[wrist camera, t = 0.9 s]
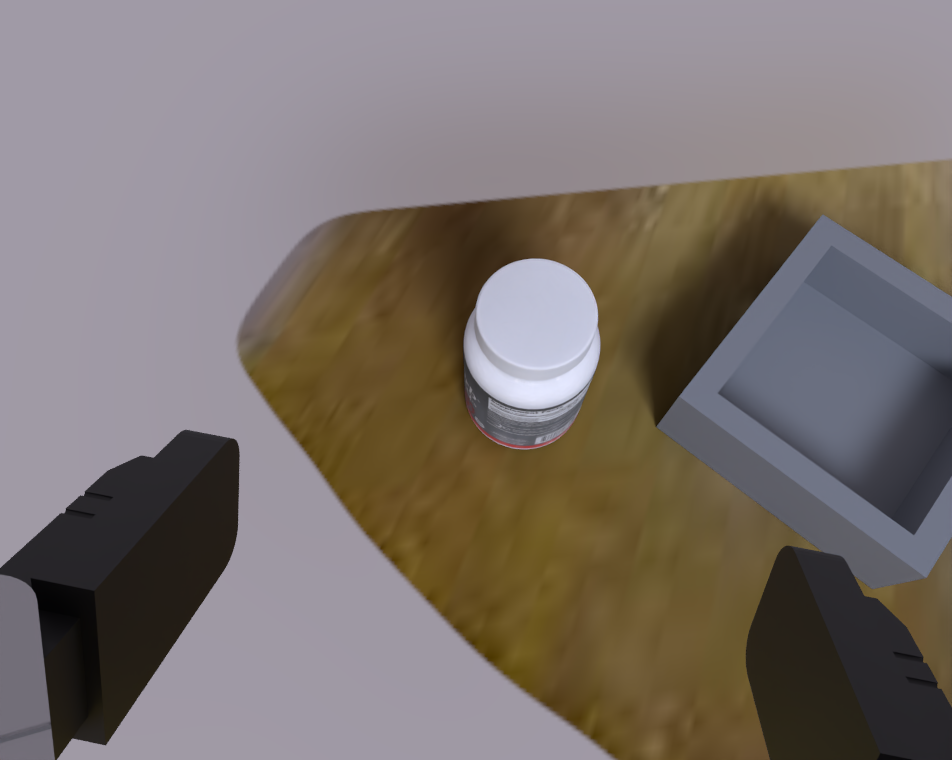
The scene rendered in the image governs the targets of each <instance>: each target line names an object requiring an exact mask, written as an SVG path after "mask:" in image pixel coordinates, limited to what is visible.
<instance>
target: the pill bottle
mask: <svg viewBox="0 0 952 760" xmlns="http://www.w3.org/2000/svg"><path fill="white" fill-rule="evenodd" d="M597 323H598V309H597V304H596V301H595V298H594V295H593V293H592V291H591V289H590V288H589V286H588V285H587V283H586V282H585V281H584V280H583V279H582V278H581V277H580V276H579V275H578V274H577V273H576V272H575V271H573V270H572V269H570V268H568V267H567V266H565V265H563V264H560V263H558V262H555V261H552V260H547V259H524V260H520V261H515V262H513V263H510V264H508V265H506V266H504V267H502V268H501V269H499V270H498V271H496V272H495V273H494V274H493V275H492V276H491V277H490V278H489V279H488V280H487V281H486V283H485V284H484V286H483V287H482V289H481V291H480V293H479V296H478V299H477V303H476V307H475V309H474V310H473V312H472V314H471V316H470V318H469V320H468V323H467V326H466V329H465V333H464V344H463V355H464V383H465V399H466V404H467V408H468V411H469V414H470V416H471V418H472V420H473V421H474V423H475V424H476V426H477V427H478V428H479V429H480V430H481V432H482V433H484V434H485V435H486V436H487V437H488V438H490V439H491V440H493V441H495V442H496V443H499V444H501V445H503V446H506V447H510V448H515V449H533V448H539V447H542V446H545V445H547V444H550V443H552V442H553V441H555V440H557V439H558V438H560V437H561V436H562V435H563V434H564V433H565V432H566V431H567V430H568V429H569V428H570V426H571V425H572V424H573V422H574V420H575V419H576V417H577V415H578V412H579V410H580V407H581V405H582V402H583V400H584V397H585V395H586V392H587V390H588V387H589V385H590V382H591V380H592V378H593V376H594V373H595V370H596V367H597V363H598V360H599V355H600V335H599V330H598V327H597Z"/></svg>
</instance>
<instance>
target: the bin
mask: <svg viewBox="0 0 952 760" xmlns="http://www.w3.org/2000/svg"><path fill="white" fill-rule="evenodd" d="M657 428H658V429H660V430H661V431H662V432H664V433H665V434H666V435H668V436H669V437H670V438H672V439H673V440H674V441H676V442H677V443H678V444H680V445H681V446H682V447H684V448H685V449H686V450H688V451H689V452H690V453H692V454H693V455H694V456H696V457H697V458H698V459H700V460H701V461H702V462H704V463H705V464H706V465H708V466H709V467H710V468H712V469H713V470H714V471H716V472H717V473H718V474H720V475H721V476H722V477H724V478H725V479H726V480H728V481H729V482H730V483H732V484H733V485H734V486H736V487H737V488H738V489H740V490H741V491H742V492H744V493H745V494H746V495H748V496H749V497H750V498H752V499H753V500H754V501H756V502H757V503H758V504H760V505H761V506H762V507H764V508H765V509H766V510H768V511H769V512H770V513H772V514H773V515H774V516H776V517H777V518H778V519H780V520H781V521H782V522H784V523H785V524H786V525H788V526H789V527H790V528H792V529H793V530H794V531H796V532H797V533H798V534H800V535H801V536H802V537H804V538H805V539H806V540H808V541H809V542H810V543H812V544H813V545H814V546H816V547H817V548H818V549H820V550H821V551H822V552H824V553H829V554H835V555H840V556H842V557H843V558H844V559H845V560H846V562H847V564H848V566H849V568H850V570H851V572H852V574H853V575H854V576H856V577H857V578H858V579H860V580H861V581H862V582H864V583H865V584H866V585H868V586H869V587H870V588H872V589H875V588H880V587H885V586H890V585H894V584H899V583H904V582H909V581H914V580H918V579H923V578H926V577H927V576H928V574H929V573H930V571H931V569H932V568H933V566H934V564H935V563H936V561H937V560H938V558H939V556H940V555H941V553H942V551H943V550H944V548H945V547H946V545H947V543H948V542H949V540H950V538H951V537H952V297H951V296H949V295H948V294H946V293H945V292H943V291H942V290H940V289H938V288H937V287H935V286H934V285H932V284H931V283H929V282H928V281H926V280H924V279H923V278H921V277H920V276H918V275H917V274H915V273H913V272H912V271H910V270H909V269H907V268H906V267H904V266H903V265H901V264H899V263H898V262H896V261H895V260H893V259H892V258H890V257H888V256H887V255H885V254H884V253H882V252H881V251H879V250H877V249H876V248H874V247H873V246H871V245H870V244H868V243H867V242H865V241H863V240H862V239H860V238H859V237H857V236H856V235H854V234H852V233H851V232H849V231H848V230H846V229H845V228H843V227H841V226H840V225H838V224H837V223H835V222H834V221H832V220H831V219H829V218H827V217H826V216H824V215H822V216H821V217H820V218H819V220H818V221H817V222H816V223H815V225H814V226H813V227H812V228H811V230H810V231H809V232H808V234H807V235H806V236H805V237H804V239H803V240H802V241H801V242H800V244H799V245H798V246H797V247H796V249H795V250H794V251H793V253H792V254H791V255H790V256H789V258H788V259H787V260H786V261H785V263H784V264H783V265H782V267H781V268H780V269H779V270H778V272H777V273H776V274H775V275H774V277H773V278H772V279H771V280H770V282H769V283H768V284H767V286H766V287H765V288H764V289H763V291H762V292H761V293H760V294H759V296H758V297H757V298H756V299H755V301H754V302H753V303H752V305H751V306H750V307H749V308H748V310H747V311H746V312H745V313H744V315H743V316H742V317H741V318H740V320H739V321H738V322H737V324H736V325H735V326H734V327H733V329H732V330H731V331H730V332H729V334H728V335H727V336H726V338H725V339H724V340H723V341H722V343H721V344H720V345H719V346H718V348H717V349H716V350H715V351H714V353H713V354H712V355H711V357H710V358H709V359H708V360H707V362H706V363H705V364H704V365H703V367H702V368H701V369H700V370H699V372H698V373H697V374H696V376H695V377H694V378H693V379H692V381H691V382H690V383H689V384H688V386H687V387H686V388H685V389H684V391H683V392H682V393H681V395H680V396H679V397H678V398H677V400H676V401H675V402H674V404H673V405H672V407H671V408H670V409H669V411H668V412H667V413H666V415H665V416H664V417H663V419H662V420H661V421H660V423H659V424H658V425H657Z"/></svg>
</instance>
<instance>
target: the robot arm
mask: <svg viewBox="0 0 952 760" xmlns="http://www.w3.org/2000/svg"><path fill="white" fill-rule="evenodd" d="M238 494H239V446H238V443H237V441H236V440H235V439H231V438H226V437H221V436H216V435H211V434H205V433H200V432H194V431H190V430H184V431H182V432H180V433H179V434H178V435H177V436H176V437H175V438H174V439H173V440H172V441H171V442H170V443H169V444H168V445H167V446H166V447H164V448H163V449H162V450H161V451H160V452H159V453H158V454H157V455H156V456H155V457H154V458H151V457H146V456H139V457H137V458H135V459H132V460H130V461H128V462H126V463H124V464H121V465H119V466H117V467H115V468H113V469H110V470H108V471H107V472H106V473H105V474H104V475H103V476H101V477H100V478H99V479H98V480H97V481H96V482H95V483H94V484H93V485H91V487H89V488H88V489H87V490H86V491H85V494H84V496H79V497H78V498H77V499H76V500H75V501H74V502H73V503H72V504H71V505H69V506H68V507H67V508H66V512H65V513H64V514H63V513H61V514H59V515H58V516H57V517H56V518H55V519H54V520H53V521H52V522H51V523H50V524H48V526H46V527H45V528H44V529H43V530H42V531H41V532H40V533H38V534H37V535H36V536H35V537H34V538H33V539H32V540H31V541H30V542H29V543H27V544H26V545H25V546H24V547H23V548H22V549H21V550H20V551H19V552H17V553H16V554H15V555H14V556H13V557H12V558H11V559H10V560H9V561H7V562H6V563H5V564H4V565H3V566H2V567H1V568H0V760H57V758H58V757H59V756H60V754H61V753H62V752H63V750H64V749H65V748H66V746H67V745H68V743H69V742H70V741H71V739H72V738H74V739H78V740H83V741H88V742H93V743H97V744H102V745H106V744H107V742H108V741H109V740H110V738H111V737H112V735H113V734H114V732H115V731H116V729H117V728H118V726H119V725H120V723H121V722H122V721H123V719H124V718H125V716H126V715H127V713H128V712H129V710H130V709H131V707H132V705H133V704H134V703H135V701H136V700H137V698H138V697H139V695H140V694H141V692H142V691H143V689H144V688H145V686H146V685H147V683H148V682H149V680H150V679H151V678H152V676H153V675H154V673H155V672H156V670H157V669H158V667H159V666H160V664H161V662H162V661H163V660H164V658H165V657H166V655H167V654H168V652H169V651H170V649H171V648H172V646H173V645H174V644H175V642H176V641H177V639H178V638H179V636H180V634H181V633H182V632H183V630H184V629H185V627H186V626H187V624H188V623H189V621H190V620H191V618H192V617H193V615H194V614H195V612H196V611H197V609H198V608H199V606H200V605H201V604H202V602H203V601H204V599H205V598H206V596H207V595H208V593H209V591H210V590H211V589H212V587H213V586H214V584H215V583H216V581H217V580H218V578H219V577H220V575H221V574H222V572H223V571H224V569H225V568H226V566H227V564H228V562H229V560H230V557H231V555H232V552H233V549H234V545H235V541H236V537H237V530H238V497H239V495H238ZM923 658H924V657H923V656H922V654H921V652H920V650H919V648H918V647H917V645H916V643H915V641H914V640H913V638H912V636H911V634H910V632H909V631H908V629H907V627H906V626H905V625H904V624H903V623H902V622H901V621H900V620H899V619H897V618H896V617H895V616H894V615H893V614H892V613H891V612H890V611H889V610H888V609H887V608H886V607H885V606H884V605H883V604H882V603H881V602H880V601H879V600H878V599H876V598H871V597H866V596H864V595H863V593H862V591H861V589H860V587H859V585H858V583H857V581H856V579H855V577H854V575H853V574H852V572H851V570H850V568H849V566H848V564H847V562H846V560H845V559H844V558H843V557H842V556H840V555H835V554H829V553H824V552H819V551H813V550H808V549H803V548H798V547H792V546H785V547H783V548H782V549H781V551H780V552H779V554H778V555H777V558H776V560H775V563H774V565H773V568H772V571H771V573H770V576H769V579H768V582H767V584H766V587H765V590H764V592H763V595H762V598H761V600H760V603H759V606H758V608H757V611H756V614H755V616H754V619H753V622H752V625H751V627H750V630H749V634H748V639H747V646H746V668H747V674H748V678H749V682H750V686H751V690H752V693H753V697H754V701H755V705H756V708H757V712H758V716H759V720H760V723H761V727H762V731H763V735H764V738H765V742H766V746H767V750H768V753H769V757H770V760H952V707H951V706H950V704H949V702H948V700H947V698H946V697H945V695H944V693H943V691H942V689H938V688H937V683H938V682H937V681H936V679H935V677H934V675H933V673H932V672H931V670H930V668H929V666H928V665H927V663H923Z"/></svg>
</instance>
